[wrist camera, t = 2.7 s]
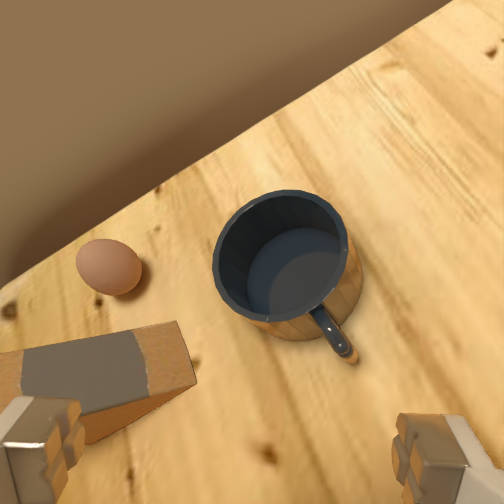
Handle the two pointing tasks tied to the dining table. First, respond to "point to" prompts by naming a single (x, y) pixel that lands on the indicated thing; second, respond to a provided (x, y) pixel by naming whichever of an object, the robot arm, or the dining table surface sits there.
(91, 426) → the sandwich container
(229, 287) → the coffee mug
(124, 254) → the egg
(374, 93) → the dining table surface
